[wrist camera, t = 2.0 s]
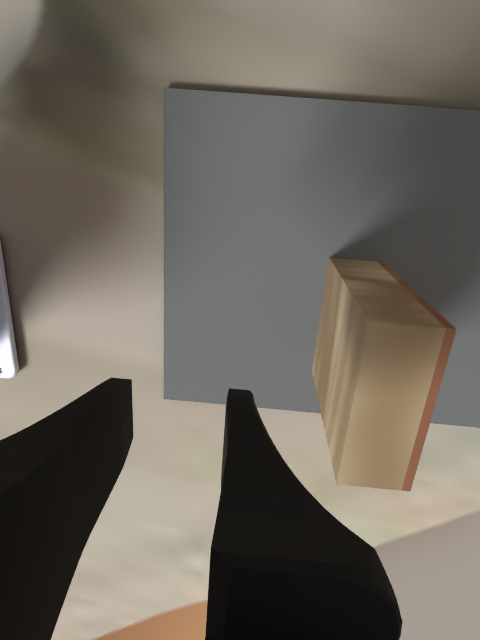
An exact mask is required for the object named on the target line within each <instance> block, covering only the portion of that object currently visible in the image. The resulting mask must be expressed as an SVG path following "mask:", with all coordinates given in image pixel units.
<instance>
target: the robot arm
mask: <svg viewBox="0 0 480 640" xmlns="http://www.w3.org/2000/svg"><path fill="white" fill-rule="evenodd" d="M0 368H1V369H2V371H1V370H0V378H13V377H14V376H15V375H17V373H18V372H19V365H18V358H17V351H16V344H15V337H14V330H13V323H12V317H11V310H10V303H9V296H8V289H7V282H6V275H5V268H4V261H3V254H2V247H1V240H0ZM132 439H133V411H132V380H131V379H119V378H110V379H108V380H106V381H104V382H103V383H101V384H100V385H98V386H96V387H95V388H93V389H92V390H90V391H89V392H87V393H85V394H84V395H82V396H81V397H79V398H77V399H76V400H74V401H73V402H71V403H69V404H68V405H66V406H65V407H63V408H61V409H60V410H58V411H56V412H54V413H53V414H51V415H49V416H47V417H45V418H44V419H42V420H40V421H38V422H37V423H35V424H33V425H31V426H29V427H27V428H25V429H24V430H22V431H20V432H17V433H15V434H13V435H11V436H9V437H7V438H5V439H2V440H0V640H51V637H52V634H53V631H54V628H55V625H56V622H57V620H58V617H59V614H60V611H61V608H62V606H63V603H64V600H65V597H66V594H67V592H68V589H69V586H70V583H71V581H72V578H73V575H74V573H75V570H76V567H77V565H78V562H79V559H80V557H81V554H82V552H83V549H84V547H85V545H86V542H87V540H88V538H89V536H90V533H91V531H92V529H93V527H94V525H95V523H96V521H97V519H98V517H99V515H100V513H101V511H102V509H103V507H104V505H105V503H106V501H107V499H108V497H109V495H110V493H111V491H112V489H113V487H114V485H115V483H116V481H117V479H118V477H119V475H120V473H121V471H122V468H123V466H124V463H125V460H126V458H127V455H128V452H129V449H130V445H131V442H132ZM401 627H402V619H401V615H400V611H399V607H398V603H397V599H396V596H395V594H394V591H393V588H392V586H391V583H390V581H389V579H388V576H387V574H386V572H385V569H384V567H383V565H382V563H381V561H380V559H379V557H378V554H377V552H376V550H375V549H374V548H373V547H371V546H370V545H369V544H368V543H366V542H365V541H364V540H362V539H361V538H360V537H358V536H357V535H356V534H354V533H353V532H352V531H351V530H349V529H348V528H347V527H345V526H344V525H343V524H342V523H340V522H339V521H338V520H337V519H336V518H335V517H334V516H333V515H331V514H330V513H329V512H328V511H327V510H326V509H325V508H324V507H323V506H322V505H321V504H320V503H319V502H318V501H317V500H316V499H315V498H314V497H313V496H312V495H311V494H310V493H309V492H308V491H307V490H306V488H305V487H304V486H303V485H302V484H301V482H300V481H299V480H298V479H297V477H296V476H295V475H294V474H293V472H292V471H291V470H290V468H289V467H288V465H287V464H286V463H285V461H284V460H283V458H282V457H281V455H280V454H279V452H278V450H277V449H276V447H275V445H274V444H273V442H272V440H271V438H270V436H269V434H268V432H267V430H266V428H265V426H264V424H263V422H262V420H261V418H260V415H259V413H258V410H257V407H256V405H255V401H254V397H253V393H252V392H251V391H250V390H242V389H231V388H229V391H228V395H227V401H226V415H225V430H224V445H223V460H222V475H221V495H220V501H219V507H218V513H217V518H216V524H215V529H214V535H213V540H212V545H211V556H210V573H209V589H208V606H207V623H206V637H205V640H399V638H400V635H401Z"/></svg>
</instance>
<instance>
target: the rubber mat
mask: <svg viewBox="0 0 480 640" xmlns="http://www.w3.org/2000/svg"><path fill="white" fill-rule="evenodd" d="M329 258H339V259H351V260H364V261H376V262H384V263H385V264H386V265H387V266H388V267H389V268H390V269H391V270H392V271H393V272H395V273H396V274H397V275H398V276H399V277H400V278H401V279H402V280H403V281H404V282H406V283H407V284H408V285H409V286H410V287H411V288H412V289H413V290H414V291H415V292H417V293H418V294H419V295H420V296H421V297H422V298H423V299H424V300H425V301H426V302H427V303H429V304H430V305H431V306H432V307H433V308H434V309H435V310H436V311H437V312H438V313H440V314H441V315H442V316H443V317H444V318H445V319H446V320H447V321H448V322H449V323H451V324H452V325H453V326H454V327H455V328H456V329H457V330H456V334H455V337H454V341H453V344H452V348H451V351H450V355H449V358H448V361H447V365H446V368H445V372H444V375H443V379H442V382H441V386H440V389H439V393H438V396H437V400H436V403H435V407H434V410H433V414H432V417H431V421H430V423H435V424H446V425H457V426H468V427H479V428H480V110H468V109H454V108H440V107H427V106H413V105H399V104H385V103H371V102H357V101H343V100H329V99H315V98H301V97H287V96H273V95H259V94H245V93H232V92H218V91H204V90H190V89H176V88H164V399H171V400H182V401H193V402H204V403H215V404H226V401H227V395H228V391H229V388H231V389H242V390H250V391H251V392H252V393H253V397H254V401H255V405H256V407H259V408H270V409H281V410H292V411H303V412H314V413H321V411H320V406H319V401H318V397H317V392H316V388H315V383H314V378H313V374H312V367H313V361H314V354H315V348H316V341H317V334H318V328H319V321H320V315H321V308H322V302H323V295H324V288H325V282H326V275H327V269H328V262H329Z"/></svg>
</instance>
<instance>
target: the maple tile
mask: <svg viewBox="0 0 480 640" xmlns="http://www.w3.org/2000/svg"><path fill="white" fill-rule="evenodd" d="M456 330H457V329H456V328H455V327H454V326H453V325H452V324H451V323H449V322H448V321H447V320H446V319H445V318H444V317H443V316H442V315H441V314H440V313H438V312H437V311H436V310H435V309H434V308H433V307H432V306H431V305H430V304H429V303H427V302H426V301H425V300H424V299H423V298H422V297H421V296H420V295H419V294H418V293H417V292H415V291H414V290H413V289H412V288H411V287H410V286H409V285H408V284H407V283H406V282H404V281H403V280H402V279H401V278H400V277H399V276H398V275H397V274H396V273H395V272H393V271H392V270H391V269H390V268H389V267H388V266H387V265H386V264H385V263H384V262H376V261H364V260H351V259H339V258H329V262H328V269H327V275H326V282H325V288H324V295H323V302H322V308H321V315H320V321H319V328H318V334H317V341H316V348H315V354H314V361H313V367H312V374H313V378H314V383H315V388H316V392H317V397H318V401H319V406H320V411H321V415H322V420H323V424H324V429H325V433H326V438H327V443H328V447H329V452H330V456H331V461H332V466H333V470H334V475H335V479H336V484H339V485H350V486H360V487H371V488H381V489H392V490H402V491H411V487H412V484H413V480H414V477H415V473H416V470H417V466H418V463H419V459H420V456H421V452H422V449H423V445H424V442H425V438H426V435H427V431H428V428H429V424H430V421H431V417H432V414H433V410H434V407H435V403H436V400H437V396H438V393H439V389H440V386H441V382H442V379H443V375H444V372H445V368H446V365H447V361H448V358H449V355H450V351H451V348H452V344H453V341H454V337H455V334H456Z"/></svg>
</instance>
